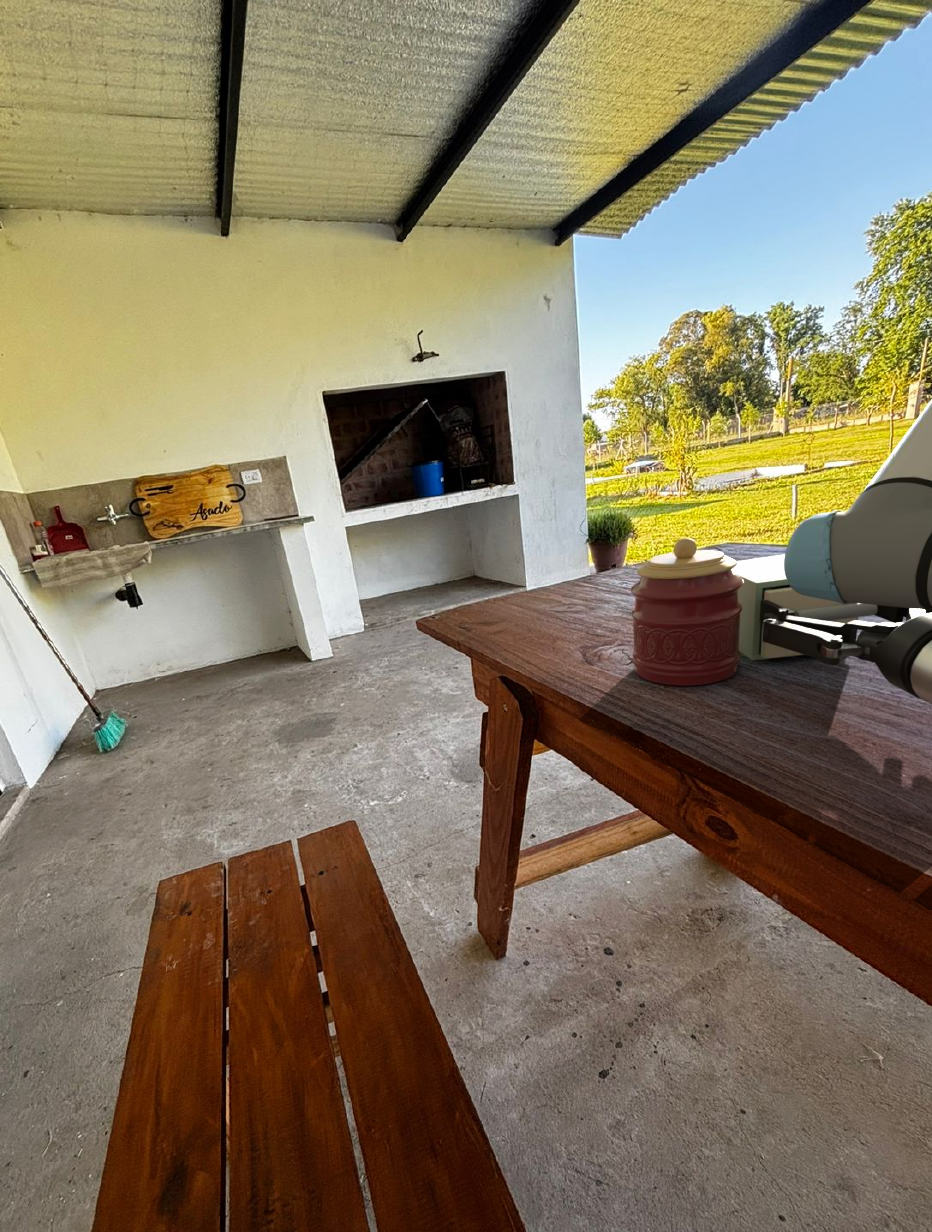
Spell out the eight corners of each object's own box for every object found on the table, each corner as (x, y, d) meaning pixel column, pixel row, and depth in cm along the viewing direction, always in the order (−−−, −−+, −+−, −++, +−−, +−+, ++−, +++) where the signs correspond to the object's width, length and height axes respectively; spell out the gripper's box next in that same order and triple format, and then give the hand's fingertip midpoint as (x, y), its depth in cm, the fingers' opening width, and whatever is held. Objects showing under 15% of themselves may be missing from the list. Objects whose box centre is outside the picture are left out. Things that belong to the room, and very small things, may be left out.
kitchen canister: (761, 665, 69) (770, 527, 62) (694, 696, 64) (697, 550, 58) (675, 647, 80) (675, 528, 74) (612, 672, 75) (607, 548, 69)
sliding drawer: (881, 662, 62) (892, 588, 59) (784, 672, 64) (789, 601, 60) (797, 620, 79) (802, 562, 76) (722, 630, 81) (724, 573, 77)
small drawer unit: (849, 650, 68) (859, 569, 65) (752, 660, 70) (756, 583, 67) (790, 620, 82) (796, 552, 78) (710, 630, 84) (712, 564, 80)
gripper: (803, 717, 48) (712, 644, 69) (1106, 689, 44) (913, 620, 64) (810, 640, 46) (713, 588, 66) (1133, 603, 41) (923, 559, 62)
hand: (812, 604), depth 65 cm, fingers closed on sliding drawer, 10 cm apart
